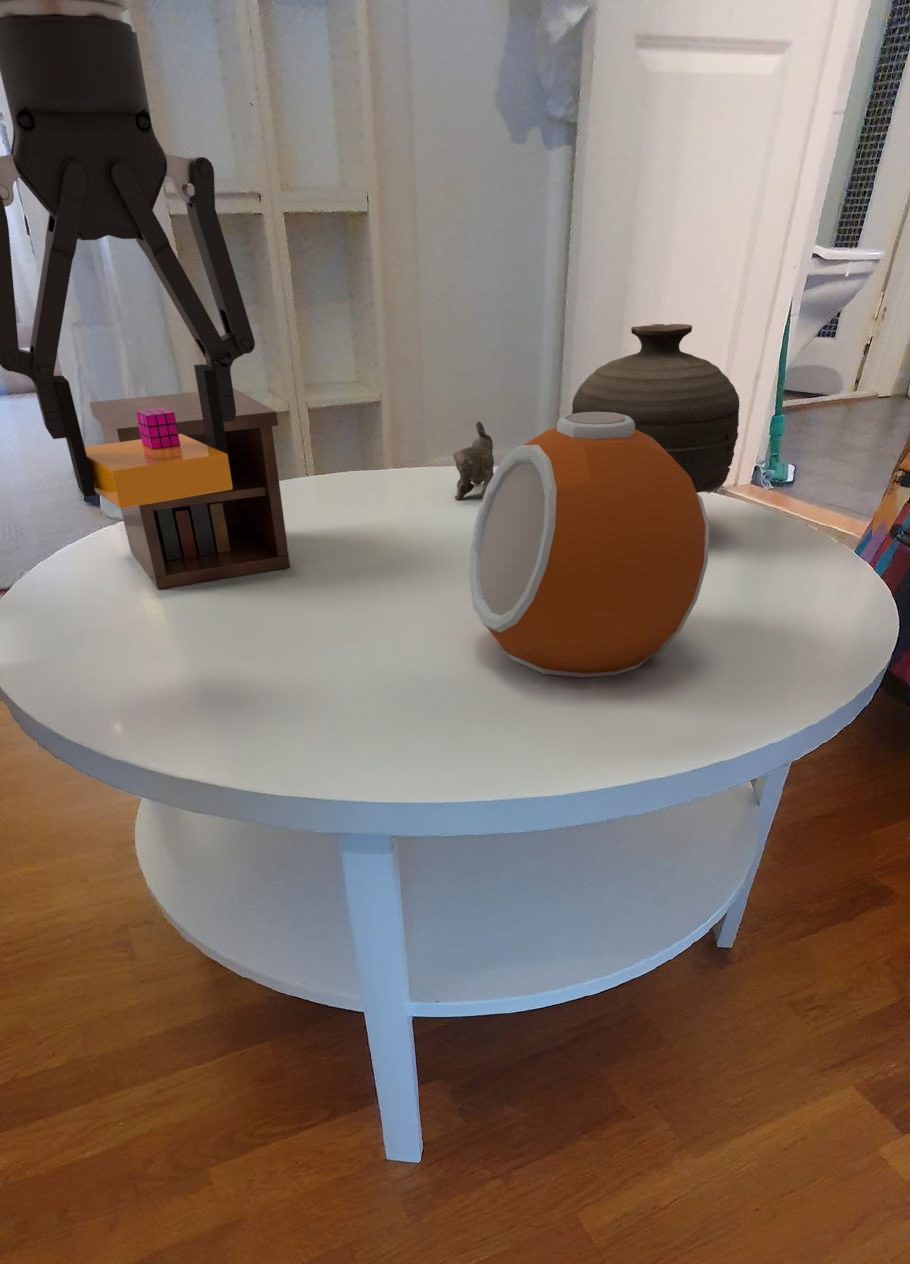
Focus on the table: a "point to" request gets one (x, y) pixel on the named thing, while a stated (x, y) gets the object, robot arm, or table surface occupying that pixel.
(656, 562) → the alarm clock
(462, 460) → the grey cat figurine
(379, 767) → the table surface
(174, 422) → the orange slab with cube
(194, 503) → the bookcase
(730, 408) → the pot
